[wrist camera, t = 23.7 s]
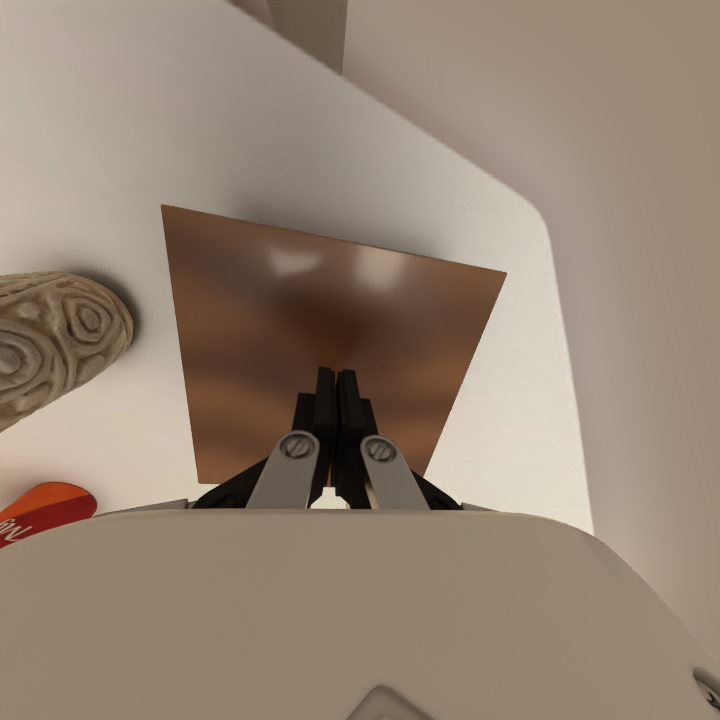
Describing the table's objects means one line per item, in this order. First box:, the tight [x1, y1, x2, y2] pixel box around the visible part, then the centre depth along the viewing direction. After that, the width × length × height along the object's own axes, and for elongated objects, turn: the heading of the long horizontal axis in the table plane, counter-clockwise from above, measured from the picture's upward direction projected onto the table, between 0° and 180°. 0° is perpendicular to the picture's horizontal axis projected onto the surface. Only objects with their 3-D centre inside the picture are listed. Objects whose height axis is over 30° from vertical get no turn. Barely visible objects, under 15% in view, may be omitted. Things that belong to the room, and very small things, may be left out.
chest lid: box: [161, 204, 507, 487], centre depth 15 cm, size 16×15×1 cm
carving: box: [0, 272, 133, 433], centre depth 13 cm, size 6×8×12 cm
